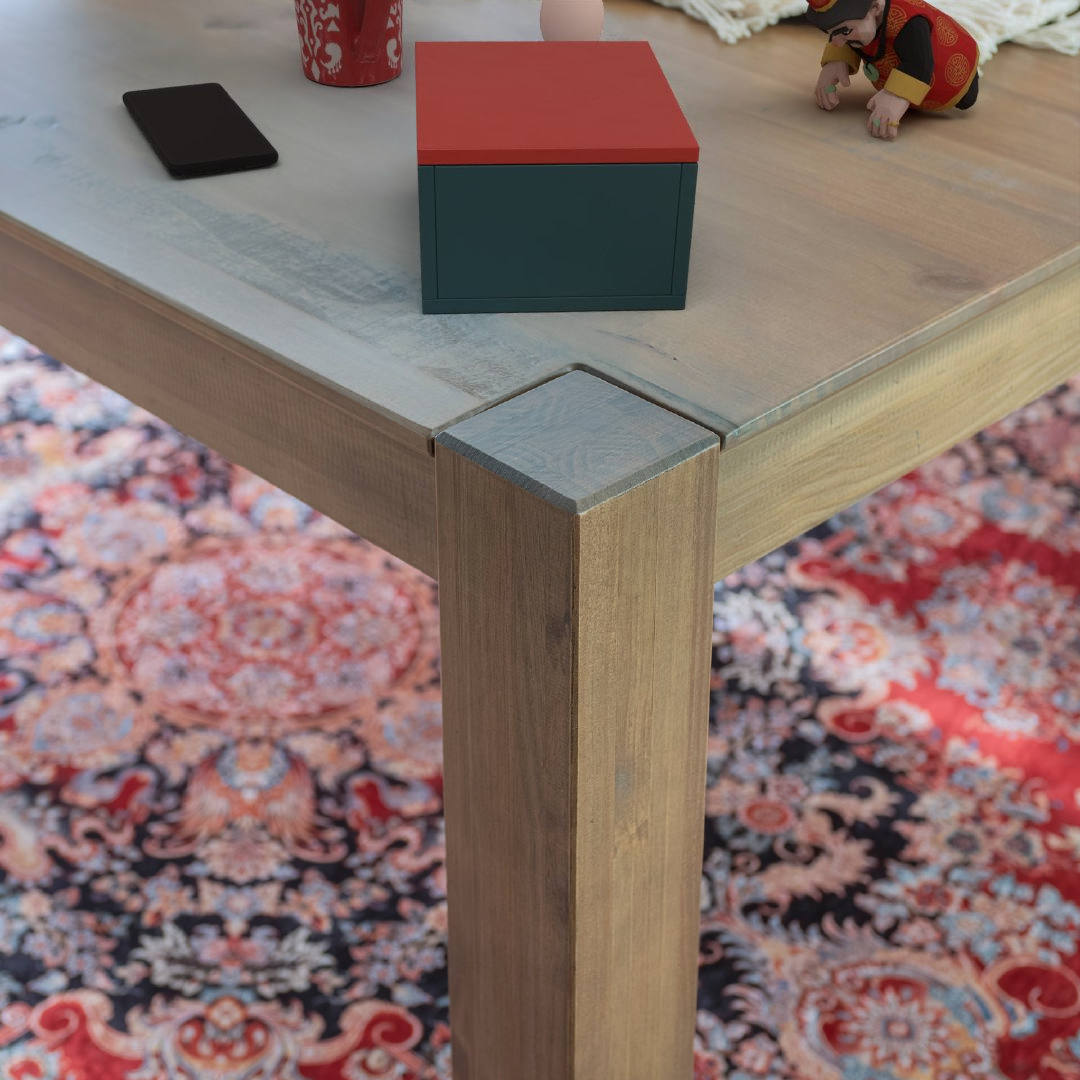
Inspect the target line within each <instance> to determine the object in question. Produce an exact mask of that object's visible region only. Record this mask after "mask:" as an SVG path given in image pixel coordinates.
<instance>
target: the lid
mask: <svg viewBox="0 0 1080 1080" xmlns="http://www.w3.org/2000/svg"><path fill="white" fill-rule="evenodd" d="M414 68H415V69H414V71H415V75H414V76H415V79H414V80H415V122H416V123H415V124H416V125H415V126H416V127H415V128H416V163H418V164H419V165H442V164H552V163H662V162H697V163H698V162H699V159H700V149H701V147H700V145H699V143H698V141H697V139H696V137H695V134H694V132H693V130H692V128H691V126H690V124H689V122H688V120H687V119H686V116H685V115H684V112H683V110H682V108H681V106H680V104H679V101H678V100H677V98H676V96H675V93H674V92H673V90H672V88H671V85H670V84H669V82H668V80H667V77H666V75H665V73H664V71H663V69H662V67H661V65H660V62H659V61H658V58H657V56H656V55H655V53H654V50H653V48H652V47H651V45H650V42H649V41H648V40H599V41H544V40H537V41H536V40H527V41H526V40H523V41H522V40H521V41H519V40H515V41H512V40H511V41H510V40H508V41H507V40H506V41H505V40H503V41H502V40H501V41H499V40H498V41H496V40H494V41H490V40H489V41H488V40H486V41H484V40H483V41H482V40H481V41H476V40H473V41H461V40H460V41H458V40H457V41H451V40H450V41H449V40H447V41H445V40H443V41H414Z"/></svg>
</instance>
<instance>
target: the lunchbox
mask: <svg viewBox="0 0 1080 1080" xmlns="http://www.w3.org/2000/svg"><path fill="white" fill-rule="evenodd" d="M416 163H417V162H416ZM416 165H417V166H416V167H417V194H418V225H419V227H418V228H419V254H420V255H419V256H420V286H421V287H420V288H421V289H420V291H421V313H422V314H471V313H472V314H473V313H475V314H477V313H481V314H483V313H531V312H533V313H535V312H537V313H539V312H588V311H589V312H590V311H591V312H592V311H593V312H595V311H645V310H646V311H647V310H648V311H650V310H652V311H653V310H685V309H686V302H687V292H688V291H687V290H688V281H689V271H690V270H689V268H690V260H691V251H692V250H691V248H692V238H693V237H692V236H693V226H694V215H695V205H696V194H697V182H698V174H699V173H698V172H699V163H698V162H662V163H552V164H442V165H419V164H418V163H417V164H416Z"/></svg>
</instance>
